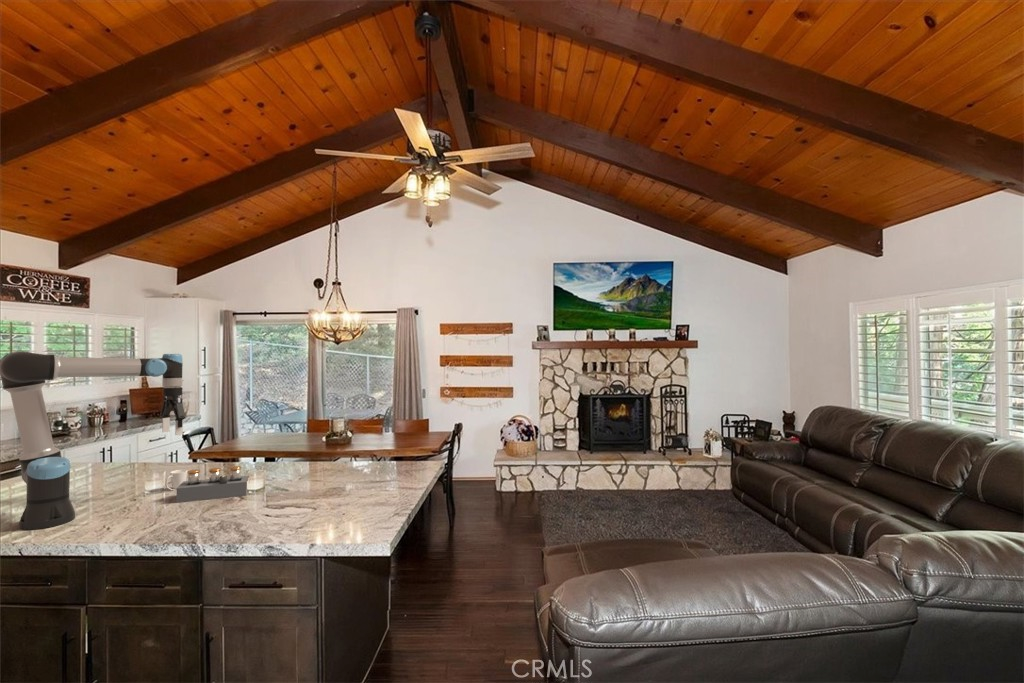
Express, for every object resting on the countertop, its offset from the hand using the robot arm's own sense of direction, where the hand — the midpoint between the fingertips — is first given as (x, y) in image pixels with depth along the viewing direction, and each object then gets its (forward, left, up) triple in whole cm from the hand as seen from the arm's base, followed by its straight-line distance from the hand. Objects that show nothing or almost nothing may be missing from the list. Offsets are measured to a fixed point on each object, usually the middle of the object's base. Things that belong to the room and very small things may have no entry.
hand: (172, 433), depth 222 cm
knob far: (-11, -30, -21) cm, 38 cm away
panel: (-12, -22, -26) cm, 36 cm away
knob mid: (-12, -22, -21) cm, 33 cm away
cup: (+2, -1, -27) cm, 27 cm away
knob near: (-13, -14, -21) cm, 29 cm away
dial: (-16, -26, -20) cm, 37 cm away
